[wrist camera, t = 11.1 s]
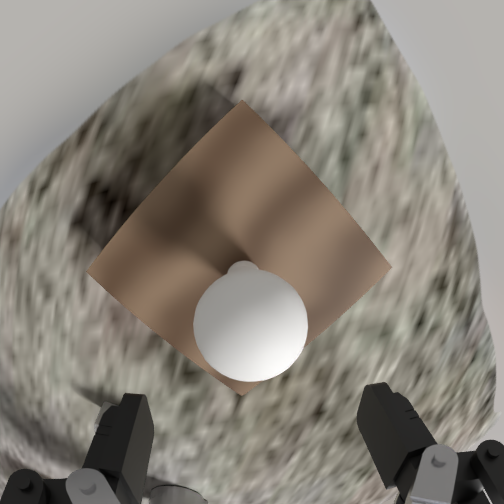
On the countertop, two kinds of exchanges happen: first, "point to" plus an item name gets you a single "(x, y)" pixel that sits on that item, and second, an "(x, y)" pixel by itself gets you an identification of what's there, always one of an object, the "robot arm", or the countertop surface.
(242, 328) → the lightbulb
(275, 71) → the countertop surface
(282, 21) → the countertop surface
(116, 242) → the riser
